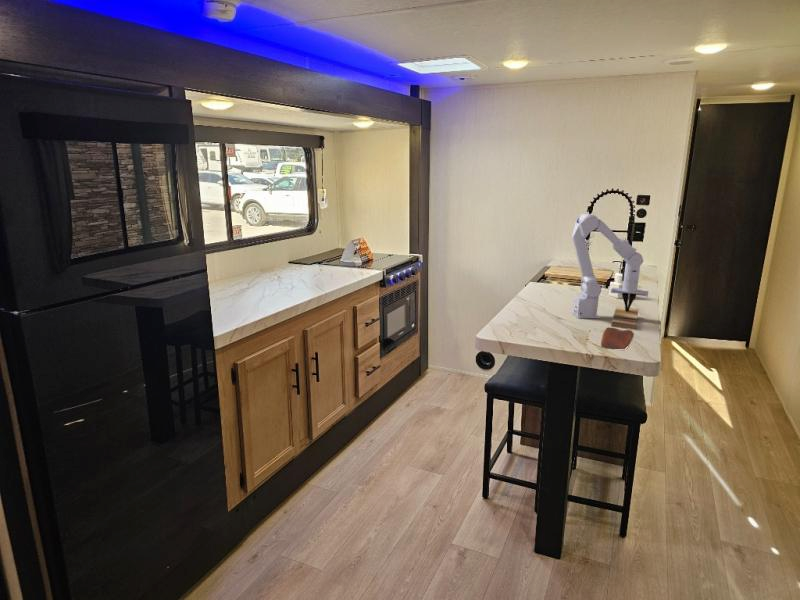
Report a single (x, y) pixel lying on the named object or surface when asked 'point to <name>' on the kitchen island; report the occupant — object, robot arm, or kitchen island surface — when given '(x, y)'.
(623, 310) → the oak plank
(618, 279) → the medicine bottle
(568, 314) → the kitchen island surface
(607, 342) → the wooden tablet
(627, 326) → the walnut board
